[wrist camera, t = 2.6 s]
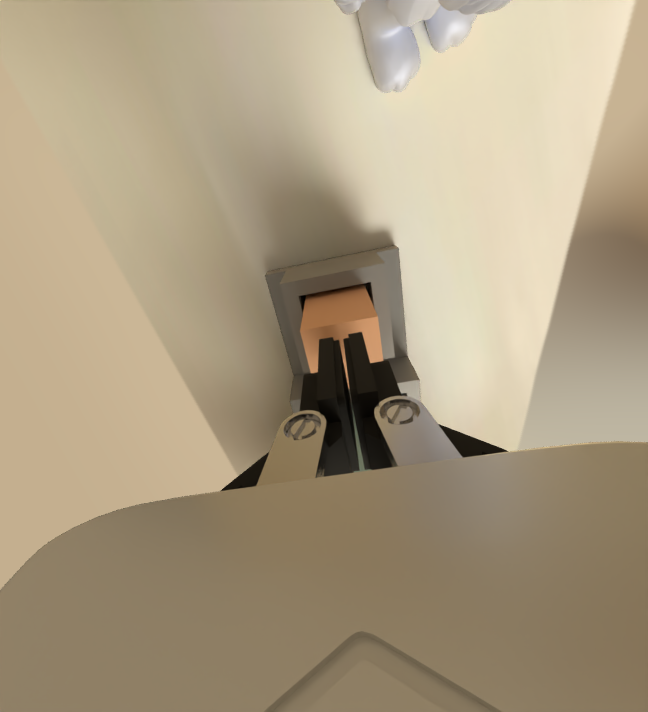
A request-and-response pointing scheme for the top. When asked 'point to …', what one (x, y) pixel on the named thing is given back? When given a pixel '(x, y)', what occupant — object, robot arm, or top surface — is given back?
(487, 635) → the robot arm
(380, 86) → the toy figurine
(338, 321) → the plunger
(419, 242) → the top surface
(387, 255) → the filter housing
